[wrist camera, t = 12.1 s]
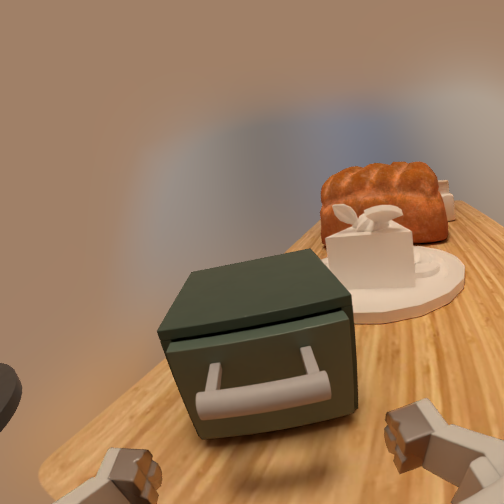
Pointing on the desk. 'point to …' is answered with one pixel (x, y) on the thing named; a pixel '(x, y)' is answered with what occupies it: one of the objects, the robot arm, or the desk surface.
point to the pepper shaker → (447, 199)
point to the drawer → (266, 375)
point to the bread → (387, 198)
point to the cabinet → (256, 299)
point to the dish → (389, 267)
